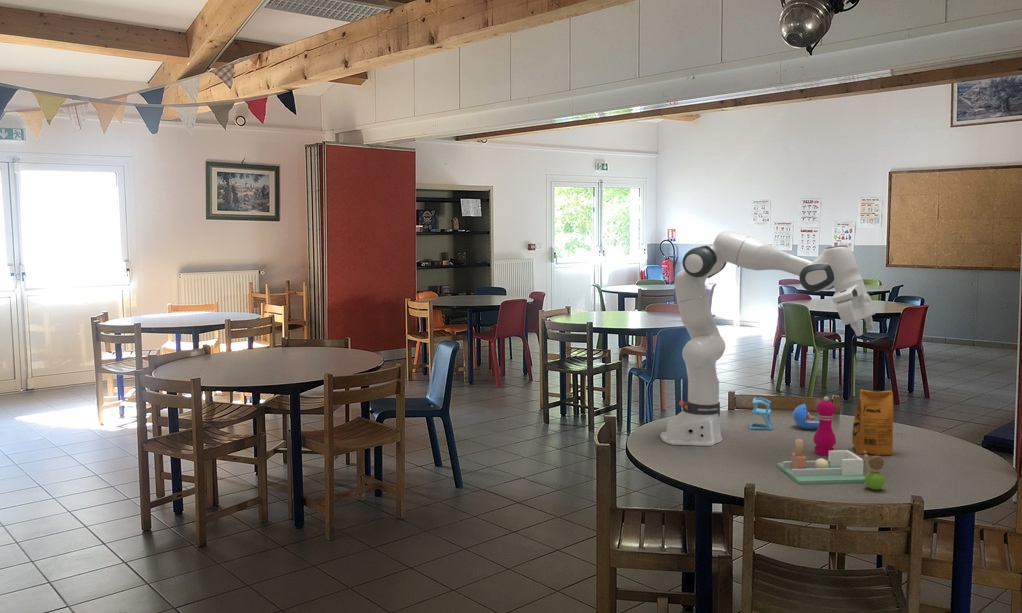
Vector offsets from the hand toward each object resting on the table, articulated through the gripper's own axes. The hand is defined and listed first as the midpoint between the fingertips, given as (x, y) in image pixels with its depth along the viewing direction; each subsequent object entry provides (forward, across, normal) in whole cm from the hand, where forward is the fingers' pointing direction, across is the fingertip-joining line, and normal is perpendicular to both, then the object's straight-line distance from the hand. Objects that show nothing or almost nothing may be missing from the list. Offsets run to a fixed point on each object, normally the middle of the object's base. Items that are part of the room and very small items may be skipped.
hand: (865, 333), depth 252 cm
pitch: (+39, +19, -20) cm, 48 cm away
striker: (+35, +24, -25) cm, 49 cm away
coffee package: (+42, -16, -18) cm, 48 cm away
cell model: (+33, -31, -46) cm, 64 cm away
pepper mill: (+37, -4, -29) cm, 47 cm away
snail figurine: (+44, +23, -4) cm, 50 cm away
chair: (+28, -19, -58) cm, 67 cm away
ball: (+36, +19, -19) cm, 45 cm away
